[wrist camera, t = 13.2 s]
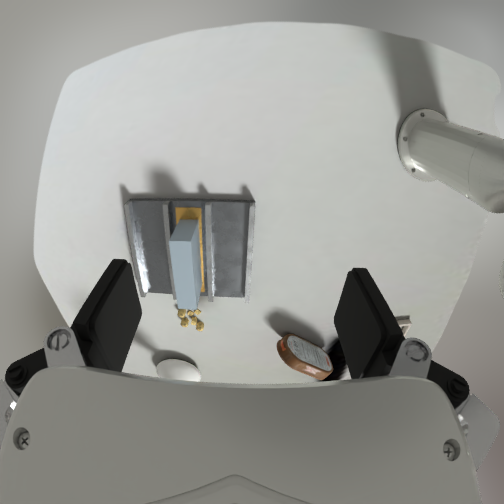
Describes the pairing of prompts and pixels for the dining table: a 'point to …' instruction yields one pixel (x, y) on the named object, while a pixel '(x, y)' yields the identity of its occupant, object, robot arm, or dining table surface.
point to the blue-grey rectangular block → (186, 263)
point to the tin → (304, 356)
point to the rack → (211, 243)
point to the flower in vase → (178, 370)
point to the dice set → (194, 319)
